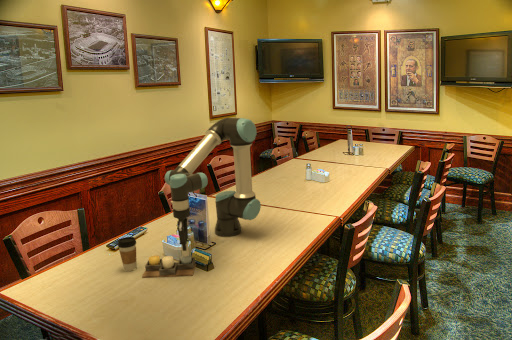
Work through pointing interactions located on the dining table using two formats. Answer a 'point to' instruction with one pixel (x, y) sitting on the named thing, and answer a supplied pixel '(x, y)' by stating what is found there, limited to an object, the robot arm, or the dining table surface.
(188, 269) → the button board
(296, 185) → the dining table surface
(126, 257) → the coffee cup
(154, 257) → the mustard button
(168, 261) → the beige round cylinder
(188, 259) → the slate button
